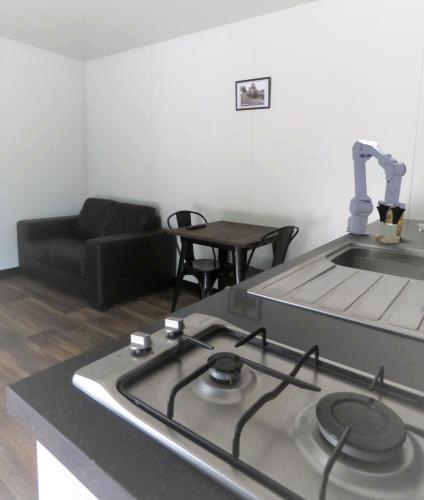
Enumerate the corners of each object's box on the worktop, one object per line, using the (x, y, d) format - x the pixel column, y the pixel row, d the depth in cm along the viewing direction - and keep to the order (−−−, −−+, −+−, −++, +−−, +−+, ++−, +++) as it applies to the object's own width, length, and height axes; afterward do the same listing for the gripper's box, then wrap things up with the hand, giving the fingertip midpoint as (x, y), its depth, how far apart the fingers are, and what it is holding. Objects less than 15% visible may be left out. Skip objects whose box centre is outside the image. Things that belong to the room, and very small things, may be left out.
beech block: (374, 241, 168) (375, 234, 167) (388, 240, 169) (388, 234, 169) (384, 244, 161) (385, 237, 161) (398, 243, 163) (399, 237, 162)
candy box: (388, 238, 173) (393, 205, 170) (381, 237, 177) (384, 204, 174) (401, 237, 177) (405, 204, 174) (393, 235, 181) (397, 203, 178)
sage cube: (378, 234, 166) (379, 223, 165) (387, 234, 168) (388, 223, 167) (386, 236, 162) (387, 225, 160) (395, 236, 163) (397, 225, 162)
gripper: (373, 190, 167) (369, 220, 169) (397, 192, 153) (392, 225, 156) (386, 190, 168) (383, 220, 171) (411, 192, 155) (406, 225, 158)
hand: (388, 223), depth 164 cm, fingers open, 7 cm apart
